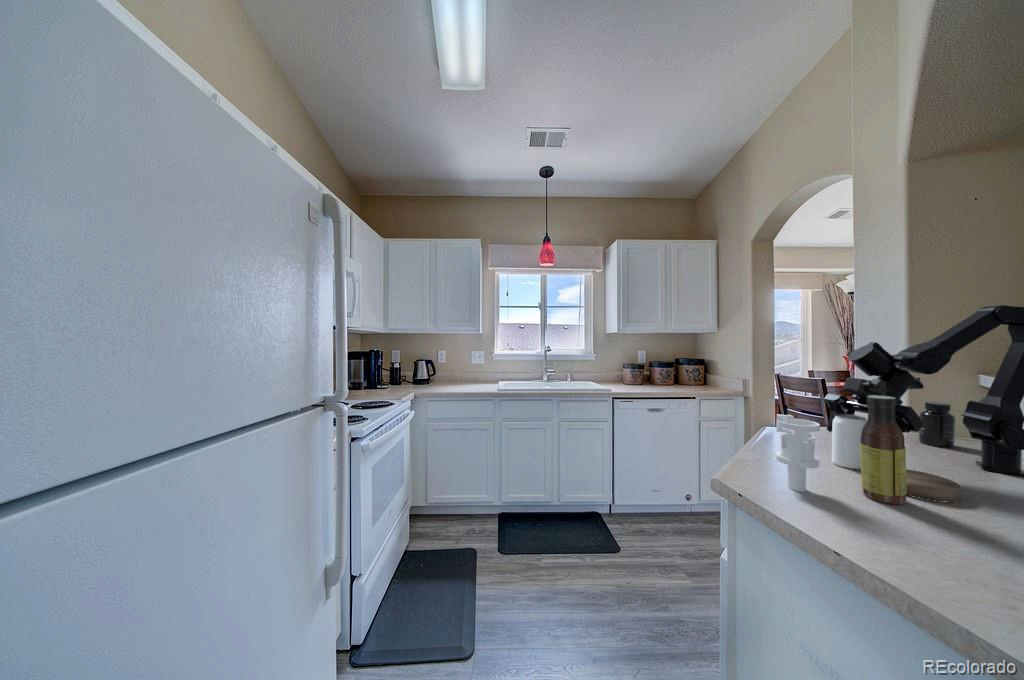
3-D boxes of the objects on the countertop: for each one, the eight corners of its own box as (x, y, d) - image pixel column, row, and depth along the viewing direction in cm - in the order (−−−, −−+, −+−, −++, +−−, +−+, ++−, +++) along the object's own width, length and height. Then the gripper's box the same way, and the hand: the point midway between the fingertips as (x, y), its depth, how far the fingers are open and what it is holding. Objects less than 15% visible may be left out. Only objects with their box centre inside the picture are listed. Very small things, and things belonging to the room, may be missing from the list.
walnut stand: (877, 475, 84) (877, 464, 84) (951, 488, 77) (952, 476, 77) (883, 491, 75) (883, 479, 75) (967, 508, 68) (967, 494, 68)
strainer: (775, 479, 82) (776, 411, 81) (816, 486, 78) (818, 415, 77) (775, 490, 76) (776, 417, 76) (820, 499, 72) (821, 422, 71)
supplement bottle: (911, 441, 110) (912, 401, 110) (932, 440, 111) (933, 400, 110) (940, 448, 103) (941, 405, 103) (962, 448, 104) (963, 405, 104)
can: (875, 471, 86) (876, 420, 86) (842, 469, 87) (843, 418, 87) (855, 461, 93) (856, 414, 92) (825, 460, 94) (826, 412, 94)
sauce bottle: (893, 494, 74) (895, 394, 74) (915, 508, 68) (917, 400, 68) (852, 489, 76) (854, 393, 76) (870, 502, 70) (872, 398, 70)
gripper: (830, 363, 99) (792, 405, 98) (914, 370, 81) (869, 422, 80) (854, 392, 101) (818, 433, 99) (943, 405, 82) (899, 457, 81)
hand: (847, 435), depth 90 cm, fingers open, 9 cm apart
